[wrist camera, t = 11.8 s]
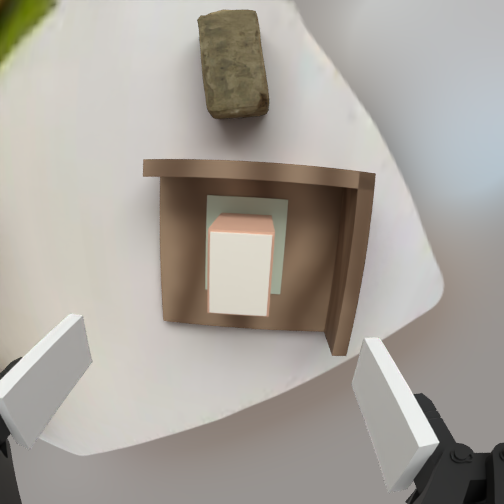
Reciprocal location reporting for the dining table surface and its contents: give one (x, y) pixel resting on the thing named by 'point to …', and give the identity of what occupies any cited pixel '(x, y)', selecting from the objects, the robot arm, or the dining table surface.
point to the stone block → (233, 64)
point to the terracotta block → (240, 264)
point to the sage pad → (259, 207)
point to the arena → (296, 241)
